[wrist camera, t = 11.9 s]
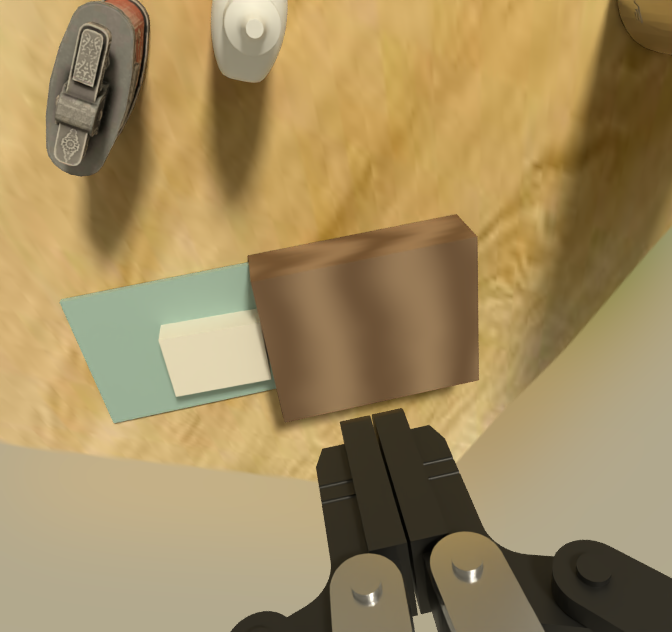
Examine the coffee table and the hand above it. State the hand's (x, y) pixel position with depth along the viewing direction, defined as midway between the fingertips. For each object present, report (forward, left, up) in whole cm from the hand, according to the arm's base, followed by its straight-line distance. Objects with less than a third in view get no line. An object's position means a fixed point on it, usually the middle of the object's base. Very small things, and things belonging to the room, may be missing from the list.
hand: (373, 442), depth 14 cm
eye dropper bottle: (0, -8, -28) cm, 29 cm away
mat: (+10, +13, -28) cm, 32 cm away
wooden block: (-4, +13, -28) cm, 31 cm away
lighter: (+8, -6, -28) cm, 30 cm away
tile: (+7, +14, -27) cm, 31 cm away
